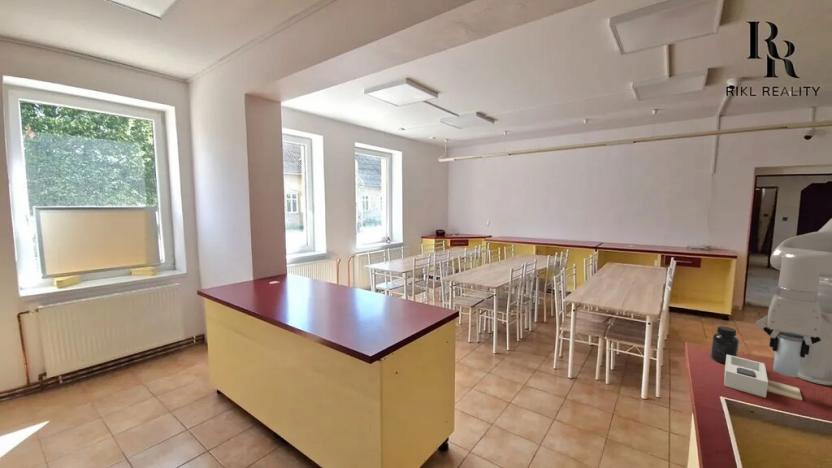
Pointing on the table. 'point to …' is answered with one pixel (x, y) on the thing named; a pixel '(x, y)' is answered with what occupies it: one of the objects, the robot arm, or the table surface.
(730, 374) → the box
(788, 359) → the cylinder
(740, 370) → the plunger
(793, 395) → the oak pad
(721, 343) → the supplement bottle
